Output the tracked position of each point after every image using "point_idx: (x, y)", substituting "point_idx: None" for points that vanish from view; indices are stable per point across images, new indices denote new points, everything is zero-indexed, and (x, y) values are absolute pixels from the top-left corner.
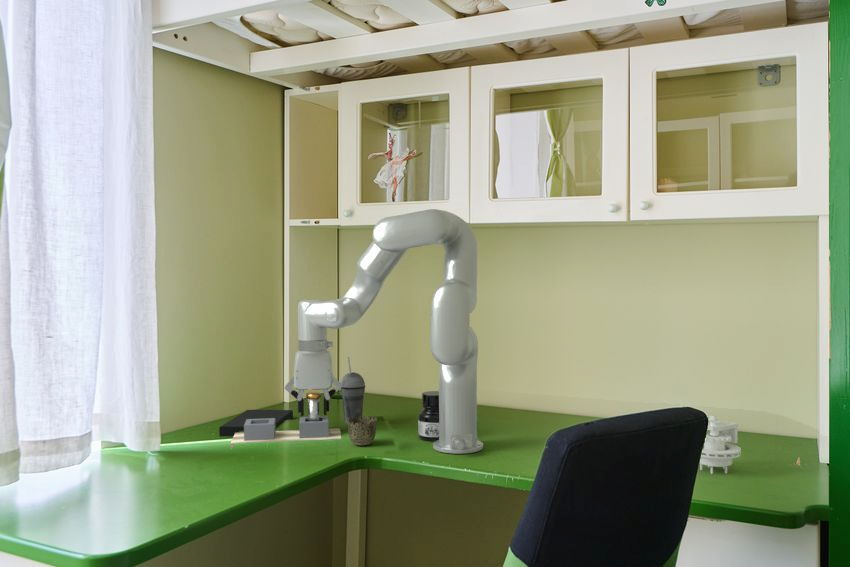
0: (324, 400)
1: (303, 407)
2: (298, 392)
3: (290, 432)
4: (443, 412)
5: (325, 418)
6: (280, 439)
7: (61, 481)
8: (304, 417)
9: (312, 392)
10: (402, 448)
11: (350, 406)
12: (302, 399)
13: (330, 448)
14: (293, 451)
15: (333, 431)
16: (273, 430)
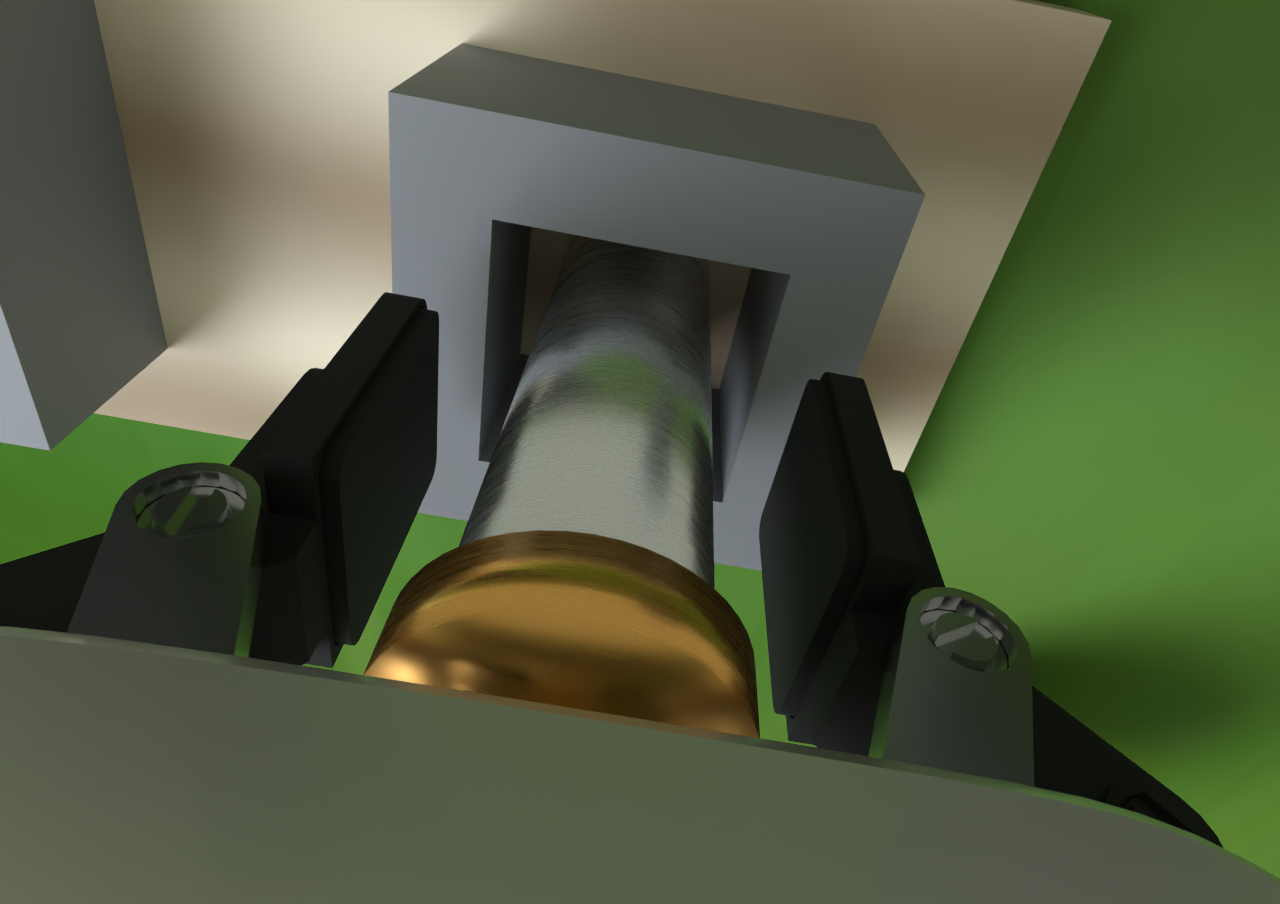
0: (790, 739)
1: (392, 565)
2: (87, 622)
3: (318, 29)
4: None
5: (815, 365)
6: (242, 368)
7: None
8: (477, 155)
9: (538, 665)
10: (1242, 737)
11: None
12: (312, 641)
13: (726, 578)
14: (413, 560)
15: (927, 200)
16: (99, 401)
